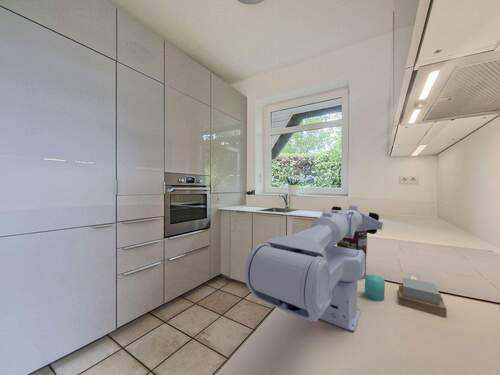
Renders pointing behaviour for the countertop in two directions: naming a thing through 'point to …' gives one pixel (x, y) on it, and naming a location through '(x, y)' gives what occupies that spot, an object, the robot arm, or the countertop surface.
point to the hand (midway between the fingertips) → (357, 218)
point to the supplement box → (356, 243)
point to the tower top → (421, 290)
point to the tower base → (422, 304)
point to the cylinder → (374, 287)
